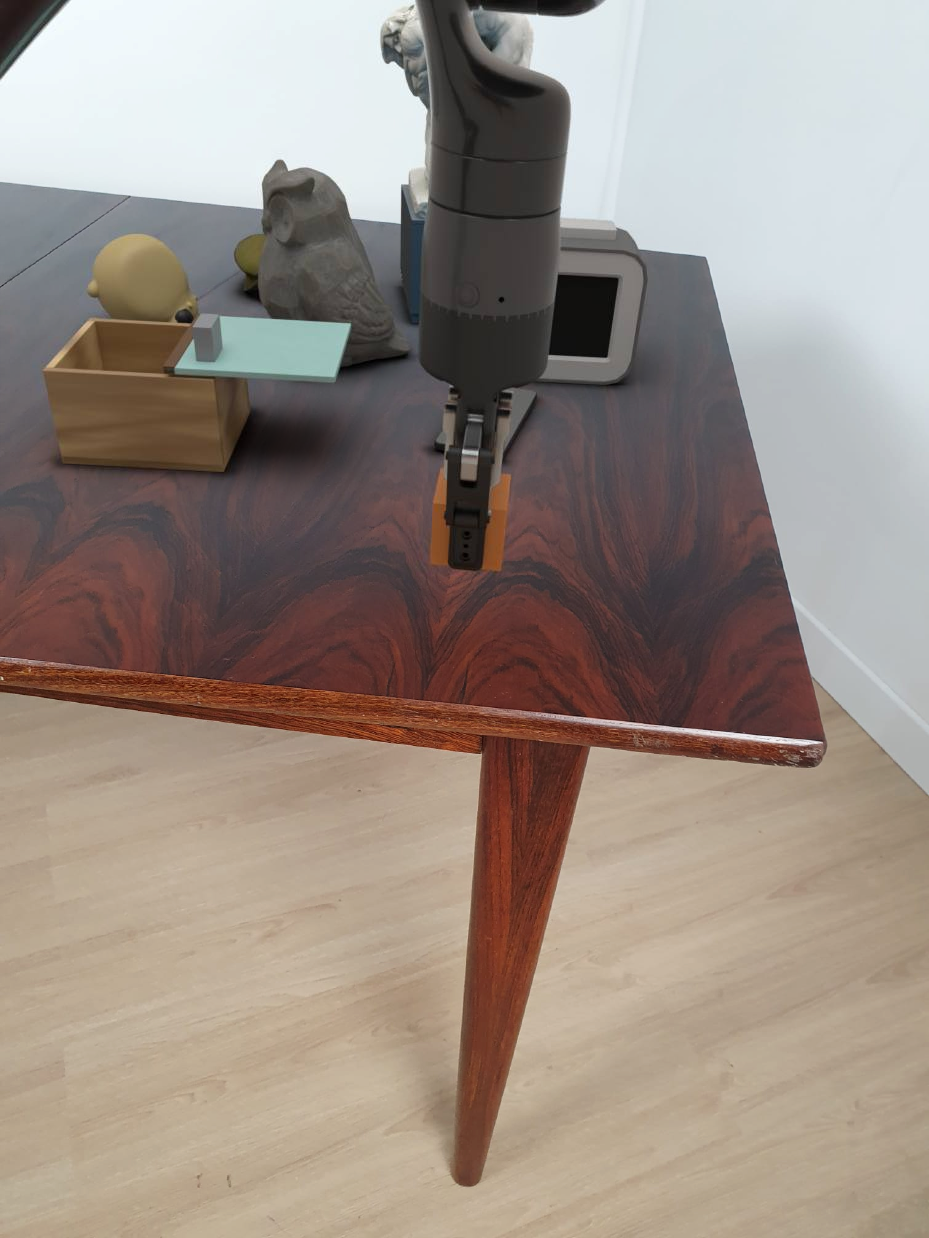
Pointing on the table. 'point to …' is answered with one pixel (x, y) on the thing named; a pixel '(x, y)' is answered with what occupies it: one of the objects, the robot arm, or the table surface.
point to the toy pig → (142, 282)
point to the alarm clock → (595, 304)
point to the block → (493, 531)
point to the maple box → (140, 401)
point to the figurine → (321, 264)
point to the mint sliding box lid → (260, 349)
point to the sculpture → (406, 48)
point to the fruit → (250, 259)
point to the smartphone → (520, 410)
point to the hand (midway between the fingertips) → (468, 543)
